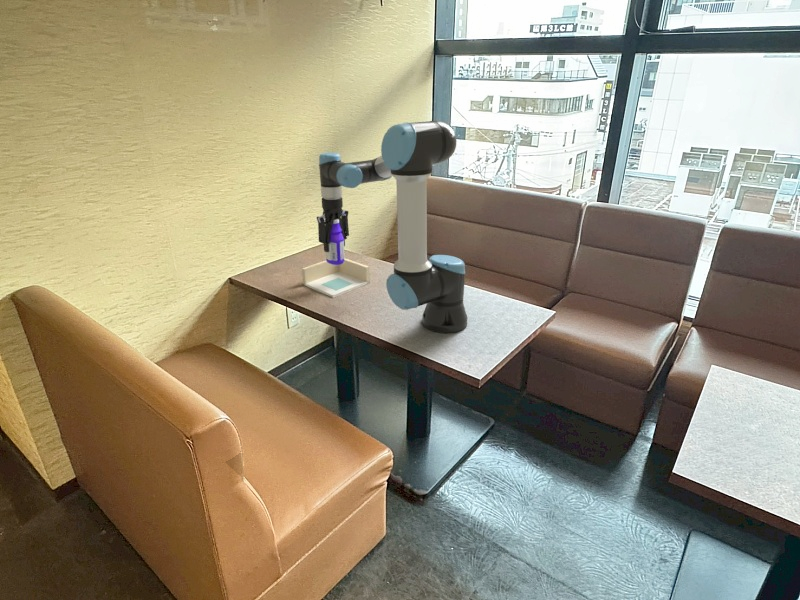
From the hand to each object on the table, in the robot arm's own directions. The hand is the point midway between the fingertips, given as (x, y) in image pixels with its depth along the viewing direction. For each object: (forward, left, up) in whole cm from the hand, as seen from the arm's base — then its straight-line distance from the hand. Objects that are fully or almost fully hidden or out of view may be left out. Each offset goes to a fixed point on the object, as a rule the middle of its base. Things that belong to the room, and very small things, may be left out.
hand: (335, 257), depth 193 cm
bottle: (0, 0, -3) cm, 3 cm away
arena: (+2, -1, -12) cm, 12 cm away
